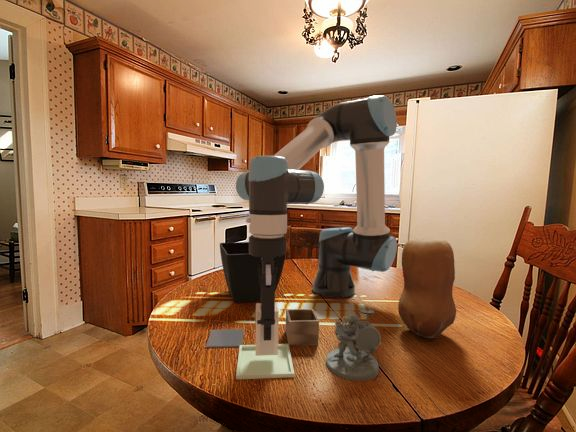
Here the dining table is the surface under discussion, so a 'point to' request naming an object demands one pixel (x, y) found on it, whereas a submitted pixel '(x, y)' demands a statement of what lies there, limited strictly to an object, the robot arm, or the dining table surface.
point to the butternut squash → (427, 287)
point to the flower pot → (244, 271)
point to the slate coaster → (225, 338)
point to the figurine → (355, 349)
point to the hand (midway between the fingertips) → (266, 345)
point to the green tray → (264, 363)
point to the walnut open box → (302, 327)
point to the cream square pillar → (257, 329)
